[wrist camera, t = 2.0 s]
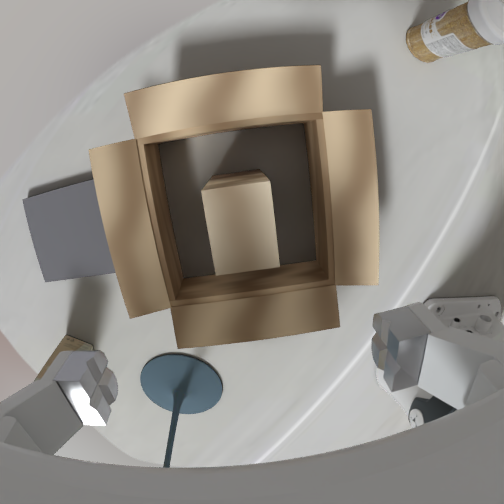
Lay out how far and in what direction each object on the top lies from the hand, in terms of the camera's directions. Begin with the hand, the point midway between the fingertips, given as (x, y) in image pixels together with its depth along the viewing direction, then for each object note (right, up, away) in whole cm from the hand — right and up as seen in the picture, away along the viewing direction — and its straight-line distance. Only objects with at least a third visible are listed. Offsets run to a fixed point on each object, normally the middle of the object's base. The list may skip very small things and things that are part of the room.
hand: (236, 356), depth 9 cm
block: (-1, +8, +22) cm, 23 cm away
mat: (-20, +5, +22) cm, 30 cm away
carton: (-1, +8, +22) cm, 23 cm away
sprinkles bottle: (+19, +26, +17) cm, 36 cm away
